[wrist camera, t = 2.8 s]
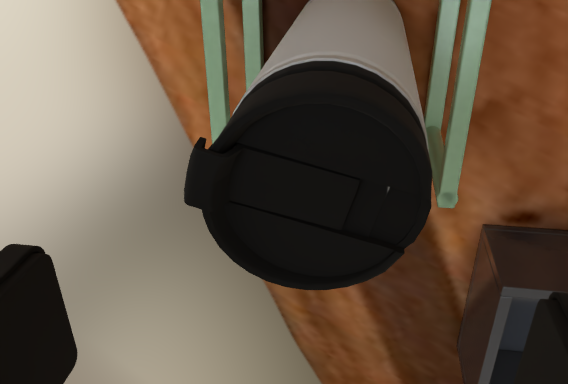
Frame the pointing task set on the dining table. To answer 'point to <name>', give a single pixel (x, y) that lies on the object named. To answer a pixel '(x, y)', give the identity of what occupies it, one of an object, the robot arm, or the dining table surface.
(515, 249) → the dark grey storage box
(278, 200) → the travel mug
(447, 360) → the dining table surface
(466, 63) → the rack
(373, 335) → the dining table surface
